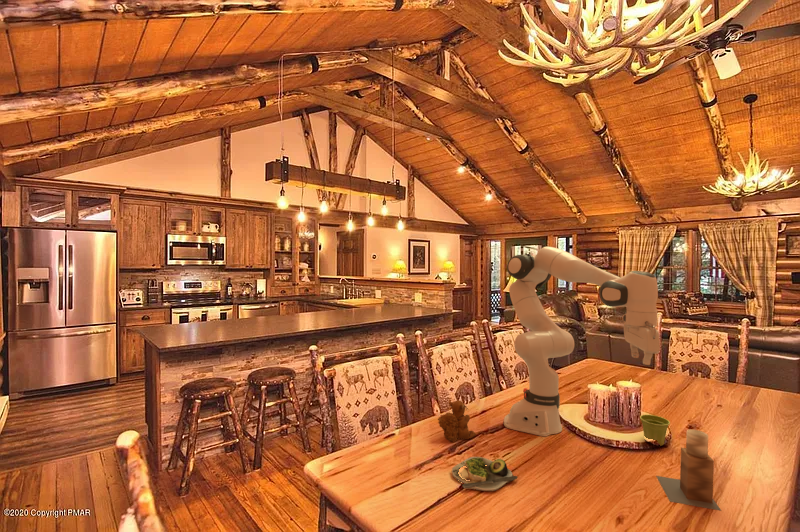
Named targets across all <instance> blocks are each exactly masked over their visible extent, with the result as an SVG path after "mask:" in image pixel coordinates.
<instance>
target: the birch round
mask: <svg viewBox="0 0 800 532" xmlns="http://www.w3.org/2000/svg"><path fill="white" fill-rule="evenodd" d="M685 438H686V440H685V443H686V444H685V448H686V452H687V453H688V454H689V455H691V456H694V457H698V458H707V457H708V455H709V434H708V433H706V432H704V431H703V430H700V429H699V430H697V429H691V428H689V429H687V430H686V437H685Z"/></svg>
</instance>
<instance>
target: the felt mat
mask: <svg viewBox="0 0 800 532" xmlns="http://www.w3.org/2000/svg"><path fill="white" fill-rule="evenodd" d="M655 477H656V478H657V480H658V483H659V484H660V486H661V489H662V490H663V492H664V493H665V495H666V498H667V499H668V501H669V502H670V503H676V504H681V505H686V506H687V505H688V506H692V507H698V508H703V509H709V510H716V511H721V512H722V509H721V508H720V507H719V505H718V504H717V502H716V501H715V500H714V499H713V503H707V502H702V501H696V500H690V499H687V498H686V496H685V495H684V493H683V491H682V490H681V488H680V478H679V479H678V478H674V477H673V478H672V477H666V476H661V475H655Z"/></svg>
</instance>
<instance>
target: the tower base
mask: <svg viewBox="0 0 800 532" xmlns="http://www.w3.org/2000/svg"><path fill="white" fill-rule="evenodd" d="M679 471H680V475H679V477H680V478H679V480H680V488H681V490H682V491H683V493H684V495H685V496H686V498H687V499H690V500H696V501H702V502H707V503H713V500H714V481H713V482H709V481H703V480H697V479H691V478H687V476H686V475H685V473H684V472H683V470H682V469H681V468H680V470H679Z"/></svg>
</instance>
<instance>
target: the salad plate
mask: <svg viewBox="0 0 800 532" xmlns="http://www.w3.org/2000/svg"><path fill="white" fill-rule="evenodd" d="M485 465H487V466H485ZM463 466H466V467H467V468H466V469H467V475H468V479H470V481H466V480H465V479H466V478H465V479H462V478H463V477H462V478H461V477H460V476H459V474H458V472H459V469H460V468H461V467H463ZM451 475H452V477H453V478H454V479H455V478H456V481H457V480H459V481H460V482H462V483H464V484H462V483H461V484H462V486H461V487H462V488H463V489H467V490H470V489H471V490H475V489H476V490H477V491H483V492H485V491H486V492H493V491H497V490H499V489H500V488H502V487H503V486H505V485H507V484H509V483H510V482H512V481H515V480H517V479H518V478H519V477H518V475H514V474H513V472H512V470H511V469H509V468H508V465H507V463H506V461H505V460H503V459H501V458H497V459H494V461H492V460H491V459H488V458H486V457H483V456H470V457H468V458H466V459H464V460H463V461H461V462H460V463H457V464H456V465H454V466H453V467H452V468H451ZM459 481H458V482H459ZM460 482H459V483H460ZM506 483H507V484H506Z"/></svg>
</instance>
